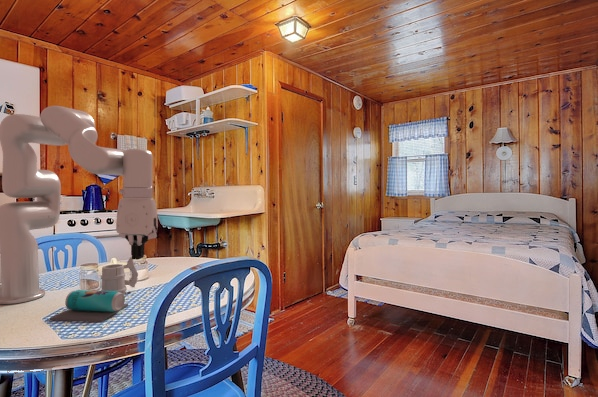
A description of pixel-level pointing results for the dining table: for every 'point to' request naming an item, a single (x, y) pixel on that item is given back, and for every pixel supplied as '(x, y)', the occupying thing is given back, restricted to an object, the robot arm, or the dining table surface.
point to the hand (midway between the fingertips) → (137, 258)
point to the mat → (84, 315)
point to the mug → (118, 277)
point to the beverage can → (95, 300)
